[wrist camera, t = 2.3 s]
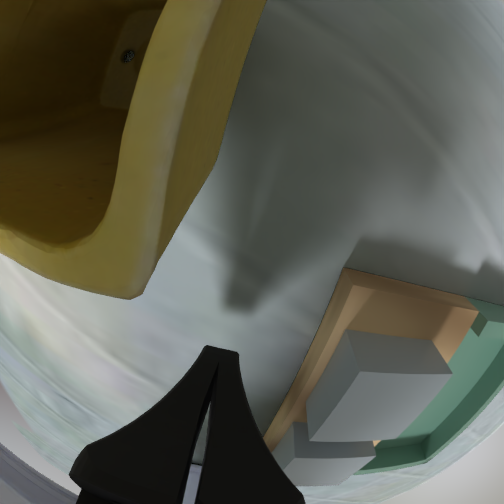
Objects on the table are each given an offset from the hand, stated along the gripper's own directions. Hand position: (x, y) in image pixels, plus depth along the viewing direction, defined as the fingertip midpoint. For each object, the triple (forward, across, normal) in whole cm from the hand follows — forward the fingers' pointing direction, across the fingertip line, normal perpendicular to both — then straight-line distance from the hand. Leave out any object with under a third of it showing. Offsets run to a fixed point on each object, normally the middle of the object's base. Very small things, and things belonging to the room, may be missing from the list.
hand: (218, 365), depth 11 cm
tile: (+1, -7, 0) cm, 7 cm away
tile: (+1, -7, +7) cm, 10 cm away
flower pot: (+3, +5, -12) cm, 13 cm away
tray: (+2, -16, +4) cm, 17 cm away
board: (+2, -8, +4) cm, 9 cm away
